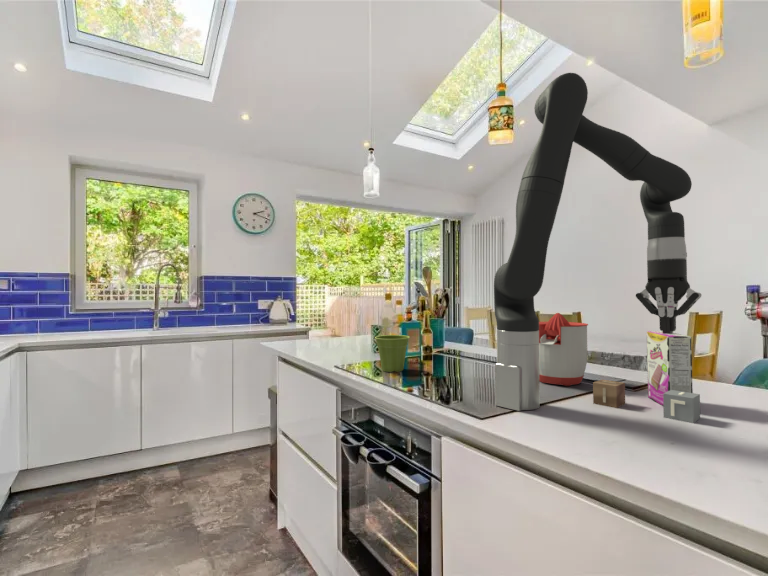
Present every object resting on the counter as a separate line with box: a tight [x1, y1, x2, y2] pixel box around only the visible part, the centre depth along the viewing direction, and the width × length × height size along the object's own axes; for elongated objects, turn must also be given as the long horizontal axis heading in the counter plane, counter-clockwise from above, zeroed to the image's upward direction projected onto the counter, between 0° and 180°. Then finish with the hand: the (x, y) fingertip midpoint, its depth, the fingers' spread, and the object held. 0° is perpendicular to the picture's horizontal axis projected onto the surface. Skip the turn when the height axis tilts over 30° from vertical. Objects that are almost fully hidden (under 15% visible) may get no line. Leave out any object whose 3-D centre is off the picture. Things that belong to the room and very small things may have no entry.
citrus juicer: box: [539, 312, 589, 387], centre depth 118 cm, size 16×17×20 cm
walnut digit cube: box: [592, 378, 626, 409], centre depth 94 cm, size 5×5×5 cm
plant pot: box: [374, 334, 411, 373], centre depth 137 cm, size 12×12×11 cm
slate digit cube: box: [662, 390, 701, 424], centre depth 84 cm, size 5×5×5 cm
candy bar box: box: [646, 330, 694, 407], centre depth 94 cm, size 11×5×16 cm, turn 169°
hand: (668, 333), depth 94 cm, fingers closed
